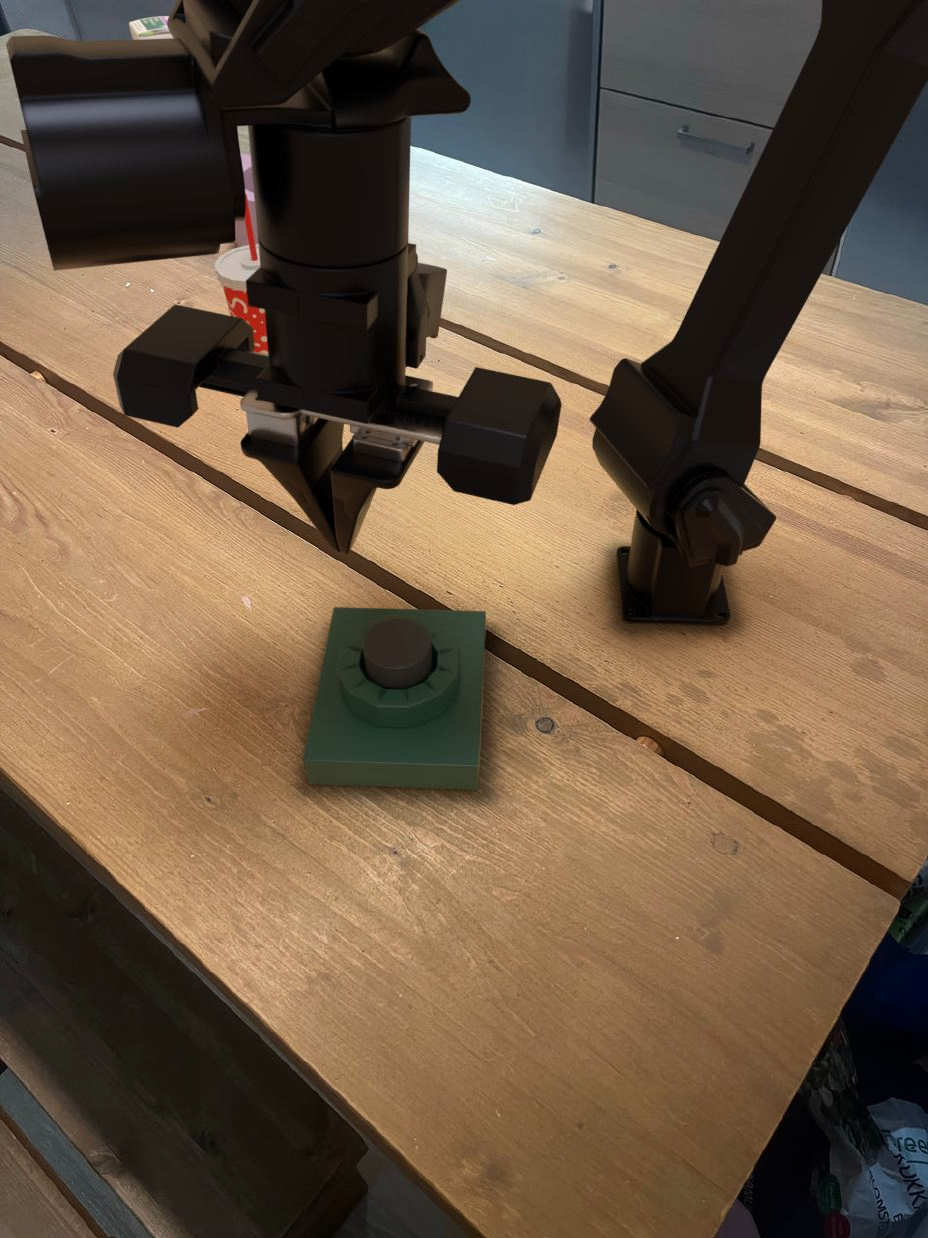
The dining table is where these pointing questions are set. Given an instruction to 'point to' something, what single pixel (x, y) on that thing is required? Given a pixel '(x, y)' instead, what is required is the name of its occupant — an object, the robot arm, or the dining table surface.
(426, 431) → the robot arm
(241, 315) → the beverage cup
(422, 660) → the push button
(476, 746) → the green button box
